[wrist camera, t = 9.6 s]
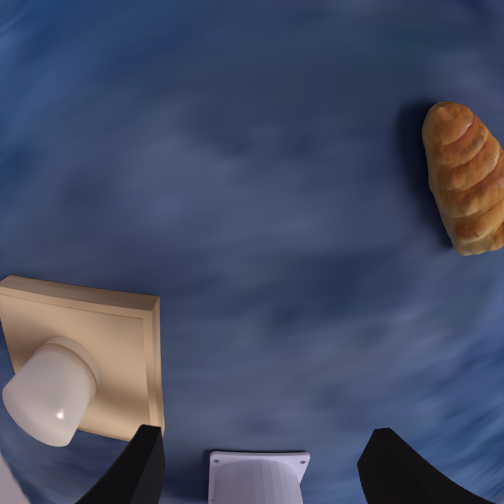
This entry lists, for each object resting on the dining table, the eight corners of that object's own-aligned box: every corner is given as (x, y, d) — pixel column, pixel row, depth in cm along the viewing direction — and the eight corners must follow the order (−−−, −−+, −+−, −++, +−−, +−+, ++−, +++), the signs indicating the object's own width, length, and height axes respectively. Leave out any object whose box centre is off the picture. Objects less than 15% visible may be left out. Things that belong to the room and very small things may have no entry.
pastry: (388, 133, 16) (423, 129, 13) (455, 86, 16) (492, 77, 12) (451, 258, 19) (486, 276, 15) (506, 203, 18) (542, 212, 14)
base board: (164, 427, 21) (160, 447, 19) (39, 399, 20) (29, 414, 18) (159, 296, 18) (151, 312, 16) (10, 274, 17) (-7, 285, 15)
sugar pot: (101, 403, 18) (74, 457, 13) (43, 378, 17) (8, 424, 12) (105, 352, 16) (70, 407, 12) (40, 324, 16) (-4, 369, 11)
